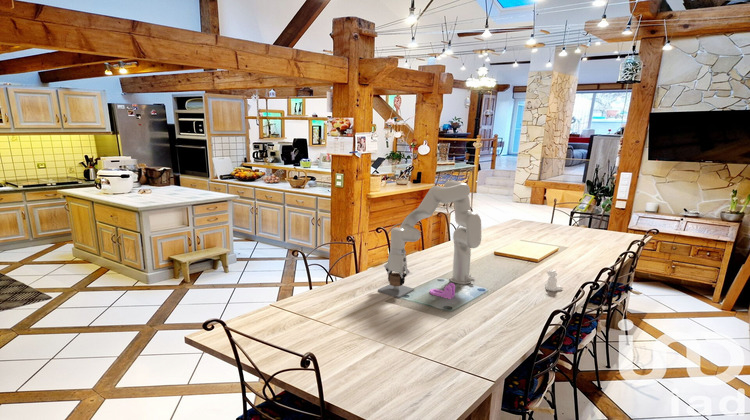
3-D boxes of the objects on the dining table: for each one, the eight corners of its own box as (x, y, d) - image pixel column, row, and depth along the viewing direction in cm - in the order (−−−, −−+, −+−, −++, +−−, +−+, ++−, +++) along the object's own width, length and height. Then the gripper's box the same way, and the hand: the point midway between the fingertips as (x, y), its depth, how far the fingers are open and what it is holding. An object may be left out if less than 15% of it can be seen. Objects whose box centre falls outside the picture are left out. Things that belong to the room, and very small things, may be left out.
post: (414, 290, 222) (414, 278, 220) (399, 298, 211) (399, 285, 210) (393, 284, 230) (393, 272, 229) (377, 291, 220) (378, 278, 218)
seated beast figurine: (563, 289, 228) (565, 269, 225) (557, 294, 221) (560, 273, 219) (546, 285, 234) (548, 265, 232) (540, 289, 228) (542, 268, 225)
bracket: (454, 296, 216) (455, 283, 215) (450, 299, 211) (451, 286, 210) (432, 290, 223) (433, 278, 222) (427, 293, 218) (428, 281, 217)
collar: (405, 283, 220) (405, 274, 219) (397, 287, 215) (397, 278, 214) (394, 280, 225) (395, 271, 224) (387, 283, 219) (387, 275, 218)
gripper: (414, 252, 214) (413, 284, 217) (388, 246, 225) (387, 277, 228) (406, 255, 208) (405, 288, 212) (380, 249, 219) (379, 280, 222)
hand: (396, 282), depth 220 cm, fingers closed on collar, 7 cm apart
